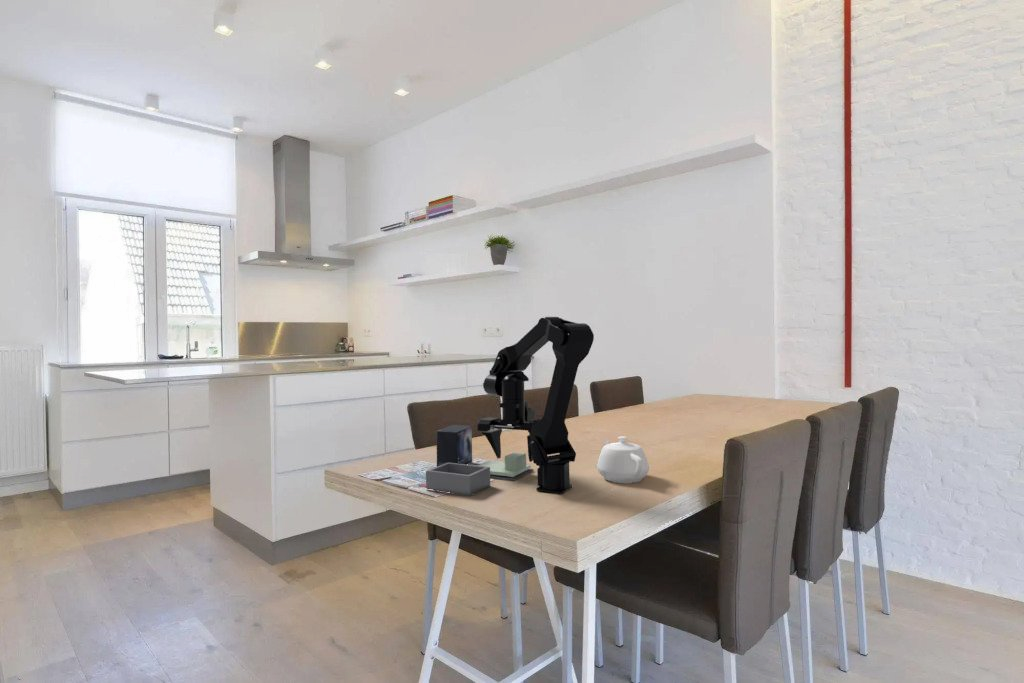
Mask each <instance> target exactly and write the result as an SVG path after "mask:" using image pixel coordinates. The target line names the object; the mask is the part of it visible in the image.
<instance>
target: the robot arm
mask: <svg viewBox="0 0 1024 683" xmlns="http://www.w3.org/2000/svg"><path fill="white" fill-rule="evenodd" d="M594 336H595V334H594V333H593V330H592V328H591V327H590V325H589V324H587V323H577V322H573V321H569V320H566V319H563V318H561V317H559V316H542V317H540V318H539V319H538V321H537V323H536V324H535V325H534V326H533V327H532V328H531V329H530V330H529V331H528V332H526V334H524V336H523V337H522V338H520V340H519V341H517V342H516V343H514V344H511V345H507V346H505V347H503V348H501V349H500V350H499V351H498V353H497V355H496V357H495V360H494V363H493V365H492V367H491V369H489V372H488V373H489V374H488V375H487V376H486V377H485V378H484V380H483V383H482V386H483V390H484V392H485V393H486V394H488V395H491V396H494V397H495V396H497V397H500V398H501V402H499V408H501V410H502V416H501V418H502V419H501V418H500V417H492V416H487V417H484V418H481V419H479V420H478V421H477V431H478V432H481V435H484V436H485V438H486V439H487V441H488V442H489V445H490V446H491V448H492V450H493V453H494V455H495V456H496V458H497V459H498V460H500V459H501V455H502V449H501V448H502V446H501V445H502V444H501V435H502V431H503V430H516V431H527V433H528V435H526V440H527V441H526V442H527V454H528V461H529V463H530V462H533V464H535V465H536V466H538V468H537V471H536V472H537V477H536V478H537V486H538V487H536V489H535V490H536V491H538V492H543V493H544V492H545V493H552V494H561V495H562V494H564V493H566V492H567V491H568V490H571V489H572V488H573V484H572V483H571V484H570V481H571V480H570V478H571V477H570V463H571V462H573V463H574V462H575V460H576V457H577V453H576V451H575V449H574V447H573V445H572V444H571V442H570V440H569V430H568V428H567V425H566V423H565V422H566V419H567V418H566V417H567V414H568V409H569V407H570V406H569V405H570V401H571V397H572V393H573V388H574V385H575V381H576V376H577V372H578V369H579V366H580V364H581V363H582V362H583V361H584V360H585V358H586V357H587V356H588V355H589V353H590V351H591V348H592V346H593V343H594V339H595V338H594ZM549 342H551V343H552V344H551V345H552V351H553V353H554V357H555V359H556V360H555V365H554V370H553V373H552V378H551V382H550V386H549V391H548V395H547V399H546V403H545V408H544V412H543V416H542V418H540V419H535V418H536V410H534V409H532V408H530V407H529V406H528V405H529V404H528V401H526V400H525V382H528V381H529V379H530V378H529V377H528V376H527V375H526V374H525V373H524V371H526V369H527V368H528V367H529V366H530V364H531V363H532V357H533V356H534V355H535V354H537V352H538V351H539V350H540V349H542V348H543V347H544V346H545V345H546V344H547V343H549Z"/></svg>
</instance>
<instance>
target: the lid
mask: <svg viewBox="0 0 1024 683" xmlns="http://www.w3.org/2000/svg"><path fill="white" fill-rule="evenodd" d="M476 466H485V467H490V474H492V475H501V476H509V477H514V476H516V475H518V474H520V473H522V472H524V471H526V470H528V469H532V468H531V464H527V453H525V452H516V451H513V452H512V453H509V454H507V455H504V461H496V460H495V461H494V460H487V461H485V462H482V463H481V464H478V465H476Z"/></svg>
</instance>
